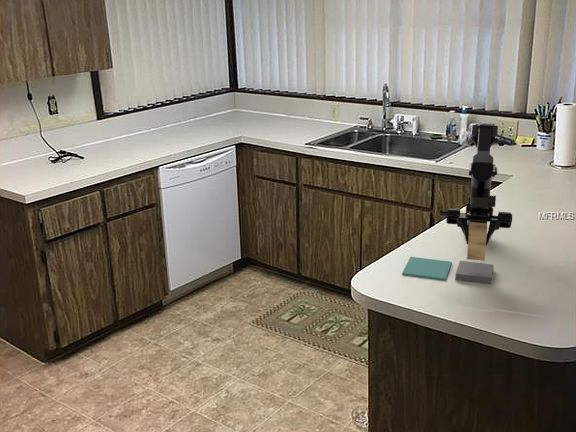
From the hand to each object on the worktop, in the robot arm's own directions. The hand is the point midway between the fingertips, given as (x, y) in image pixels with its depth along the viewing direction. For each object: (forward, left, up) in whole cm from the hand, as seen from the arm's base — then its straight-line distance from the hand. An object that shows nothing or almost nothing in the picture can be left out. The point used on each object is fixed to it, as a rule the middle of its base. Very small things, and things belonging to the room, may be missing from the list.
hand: (476, 244), depth 187 cm
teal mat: (-11, -9, -11) cm, 18 cm away
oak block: (-1, +1, -5) cm, 5 cm away
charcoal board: (-1, +1, -11) cm, 11 cm away
